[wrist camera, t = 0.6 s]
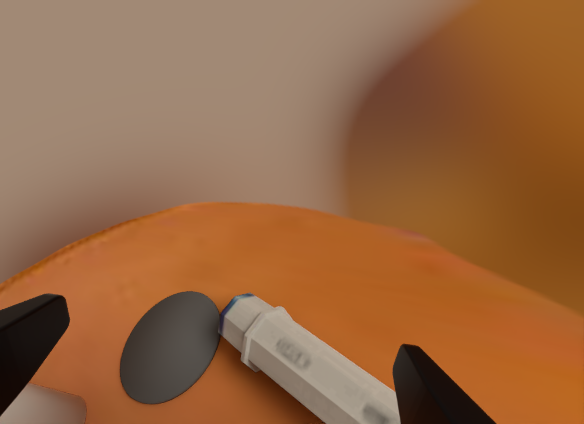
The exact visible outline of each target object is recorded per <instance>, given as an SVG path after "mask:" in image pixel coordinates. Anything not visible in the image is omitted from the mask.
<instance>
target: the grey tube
mask: <svg viewBox="0 0 584 424" xmlns="http://www.w3.org/2000/svg"><path fill="white" fill-rule="evenodd" d="M218 333H220V334H221V335H222V336H223V337H224V338H225V339H226V340H227V341H228V342H230V343H231V344H232V345H233V346H234V347H235V348H236V349H237V350H239V351H240V352H241V353H242V354H241V361H242V362H243V363H245V364H246V365H247V366H248V367H250V368H251V369H252V370H253V371H255V372H258V371H260V370H262V371H263V372H264V373H265V374H267V375H268V376H269V377H270V378H271V379H273V380H274V381H275V382H276V383H278V384H279V385H280V386H281V387H282V388H284V389H285V390H286V391H287V392H288V393H290V394H291V395H292V396H293V397H294V398H296V399H297V400H298V401H299V402H300V403H302V404H303V405H304V406H305V407H306V408H308V409H309V410H310V411H311V412H313V413H314V414H315V415H316V416H317V417H319V418H320V419H321V420H322V421H323V422H325V423H326V424H401V423H400V416H399V410H398V404H397V398H396V392H394V391H393V390H391V389H390V388H389V387H387V386H386V385H384V384H383V383H381V382H380V381H379V380H377V379H376V378H374V377H373V376H371V375H370V374H369V373H367V372H366V371H364V370H363V369H361V368H360V367H359V366H357V365H356V364H354V363H353V362H351V361H350V360H349V359H347V358H346V357H344V356H343V355H341V354H340V353H339V352H337V351H336V350H334V349H333V348H331V347H330V346H329V345H327V344H326V343H324V342H323V341H321V340H320V339H319V338H317V337H316V336H314V335H313V334H311V333H310V332H309V331H307V330H306V329H304V328H303V327H301V326H300V325H299V324H297V323H296V322H294V321H293V319H292V318H291V317H290V315H289V314H288V313H287V312H286V310H285V309H284V308H283V307H281V306H279V307H276V308H274V307H272V306H270V305H269V304H267V303H266V302H264V301H263V300H261V299H259V298H258V297H256V296H255V295H253V294H251V293H247V294H243V295H239V296H235V297H234V298H233V299H232V300H231V301H230V303H229V304H228V305H227V306H226V307H225V309H224V310H223V311H222V312H221V314H220V322H219V329H218Z"/></svg>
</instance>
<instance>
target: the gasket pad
mask: <svg viewBox="0 0 584 424" xmlns="http://www.w3.org/2000/svg"><path fill="white" fill-rule="evenodd" d="M219 322H220V314H219V311H218V309H217V307H216V305H215V304H214V303H213V301H212V300H211V299H210V298H208V297H207V296H205V295H204V294H201V293H198V292H193V291H187V292H181V293H177V294H174V295H171V296H169V297H167V298H165V299H164V300H162V301H160V302H159V303H158V304H156V305H155V306H154V307H152V308H151V309H150V310H149V311H148V312H147V313H146V314H145V315H144V316H143V317H142V318H141V319H140V321H139V322H138V323H137V325H136V326H135V327H134V329H133V331H132V332H131V334H130V336H129V338H128V340H127V342H126V344H125V347H124V350H123V353H122V357H121V363H120V377H121V382H122V385H123V387H124V389H125V391H126V392H127V394H128V395H129V396H130V397H131V398H133V399H135V400H136V401H139V402H142V403H146V404H159V403H163V402H166V401H169V400H172V399H174V398H176V397H177V396H179V395H181V394H182V393H184V392H185V391H186V390H188V389H189V388H190V387H191V386H192V385H193V384H194V383H195V382H196V381H197V380H198V379H199V378H200V377H201V376H202V374H203V373H204V372H205V370H206V369H207V367H208V366H209V364H210V362H211V361H212V359H213V357H214V355H215V352H216V350H217V347H218V343H219V340H220V333H218V329H219Z"/></svg>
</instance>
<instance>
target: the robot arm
mask: <svg viewBox="0 0 584 424" xmlns="http://www.w3.org/2000/svg"><path fill="white" fill-rule="evenodd" d="M69 322H70V317H69V312H68V308H67V303H66V299H65V298H64V296H62V295H56V294H43V295H40V296H37V297H35V298H32V299H29V300H27V301H24V302H21V303H19V304H16V305H13V306H10V307H8V308H5V309H2V310H0V417H1V415H2V414H3V413H4V412H5V411H6V409H7V408H8V407H9V406H10V405H11V404H12V402H13V401H14V400H15V399H16V398H17V396H18V395H19V394H20V393H21V391H22V390H23V389H24V388H25V386H26V385H27V384H28V382H29V381H30V380H31V378H32V377H33V376H34V374H35V373H36V372H37V370H38V369H39V367H40V366H41V365H42V363H43V362H44V360H45V359H46V358H47V356H48V355H49V353H50V352H51V351H52V349H53V348H54V346H55V345H56V344H57V342H58V341H59V339H60V338H61V337H62V335H63V334H64V332H65V331H66V329H67V328H68V326H69ZM393 379H394V385H395V392H396V398H397V404H398V410H399V416H400V423H401V424H496V423H495V422H494V421H493V420H492V419H491V418H490V417H489V416H488V415H487V414H486V413H485V412H484V411H483V410H482V409H481V408H480V407H479V406H478V405H477V404H476V403H475V402H474V401H473V400H472V399H471V398H470V397H469V396H468V395H467V394H466V393H465V392H464V391H463V390H462V389H461V388H460V387H459V386H458V385H457V384H456V383H455V382H454V381H453V380H452V379H451V378H450V377H449V376H448V375H447V374H446V373H445V372H444V371H443V370H442V369H441V368H440V367H439V366H438V365H437V364H436V363H435V362H434V361H433V360H432V359H431V358H430V357H429V356H428V355H427V354H426V353H425V352H424V351H423V350H422V349H421V348H420V347H418V346H416V345H410V344H402V345H401V346H400V348H399V351H398V354H397V357H396V359H395V362H394V365H393Z"/></svg>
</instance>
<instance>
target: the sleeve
mask: <svg viewBox="0 0 584 424" xmlns="http://www.w3.org/2000/svg"><path fill="white" fill-rule="evenodd" d="M85 419H86V404H85V401H84V400H83V399H82V398H81V397H79V396H76V395H72V394H69V393H65V392H61V391H58V390H54V389H50V388H47V387H43V386H39V385H35V384H32V383H28V384H27V385H26V386H25V388H24V389H23V390H22V391H21V393H20V394H19V395H18V396H17V398H16V399H15V400H14V401H13V402H12V404H11V405H10V406H9V407H8V408H7V409H6V411H5V412H4V413H3V414H2V415H1V417H0V424H84V423H85Z"/></svg>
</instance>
